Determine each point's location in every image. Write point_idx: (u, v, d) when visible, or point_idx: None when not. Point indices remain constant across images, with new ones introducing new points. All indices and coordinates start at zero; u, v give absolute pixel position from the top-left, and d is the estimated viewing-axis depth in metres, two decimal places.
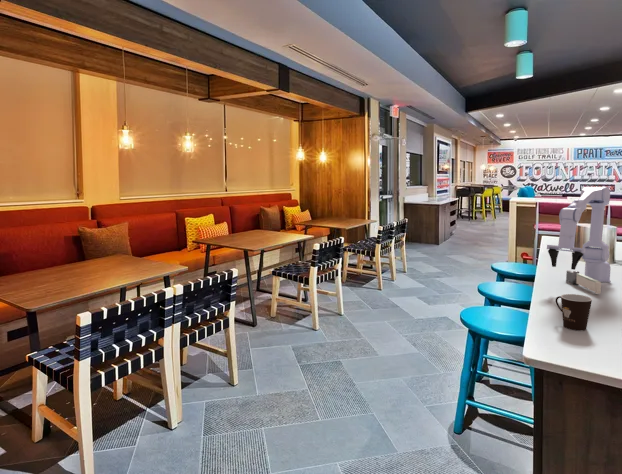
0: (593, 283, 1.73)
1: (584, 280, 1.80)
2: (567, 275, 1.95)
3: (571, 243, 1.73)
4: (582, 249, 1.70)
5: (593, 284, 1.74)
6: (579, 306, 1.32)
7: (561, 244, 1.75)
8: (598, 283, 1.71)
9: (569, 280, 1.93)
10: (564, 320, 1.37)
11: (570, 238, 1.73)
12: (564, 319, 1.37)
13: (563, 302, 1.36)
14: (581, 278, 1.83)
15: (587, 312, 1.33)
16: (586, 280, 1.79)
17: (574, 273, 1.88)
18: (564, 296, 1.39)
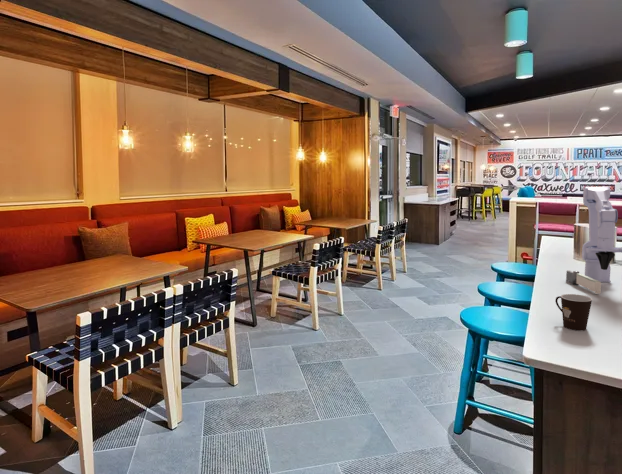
0: (593, 283, 1.73)
1: (584, 280, 1.80)
2: (567, 275, 1.95)
3: (613, 245, 1.74)
4: None
5: (593, 284, 1.74)
6: (579, 306, 1.32)
7: (607, 247, 1.73)
8: (598, 283, 1.71)
9: (569, 280, 1.93)
10: (564, 320, 1.37)
11: (613, 240, 1.73)
12: (564, 319, 1.37)
13: (563, 302, 1.36)
14: (581, 278, 1.83)
15: (587, 312, 1.33)
16: (586, 280, 1.79)
17: (574, 273, 1.88)
18: (564, 296, 1.39)
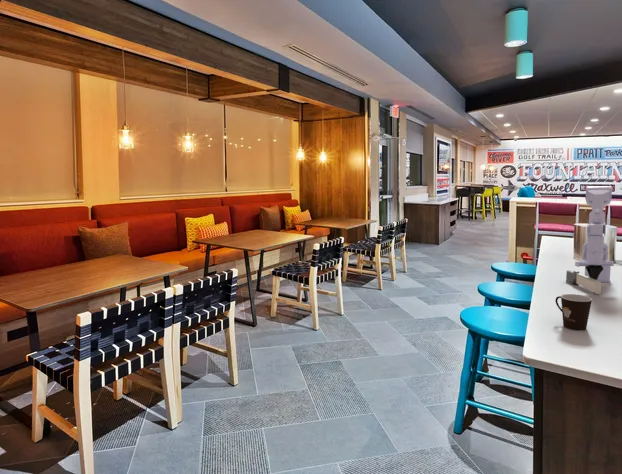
0: (593, 283, 1.73)
1: (584, 280, 1.80)
2: (567, 275, 1.95)
3: (602, 258, 1.75)
4: (612, 263, 1.75)
5: (593, 284, 1.74)
6: (579, 306, 1.32)
7: (596, 261, 1.74)
8: (598, 283, 1.71)
9: (569, 280, 1.93)
10: (564, 320, 1.37)
11: (602, 254, 1.74)
12: (564, 319, 1.37)
13: (563, 302, 1.36)
14: (581, 278, 1.83)
15: (587, 312, 1.33)
16: (586, 280, 1.79)
17: (574, 273, 1.88)
18: (564, 296, 1.39)
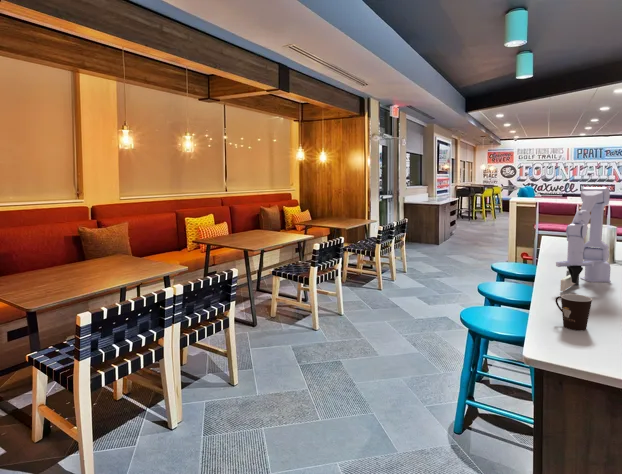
0: None
1: None
2: (567, 275, 1.95)
3: (583, 259, 1.76)
4: (592, 263, 1.76)
5: None
6: (579, 306, 1.32)
7: (576, 261, 1.75)
8: (562, 280, 1.76)
9: None
10: (564, 320, 1.37)
11: (582, 254, 1.75)
12: (564, 319, 1.37)
13: (563, 302, 1.36)
14: None
15: (587, 312, 1.33)
16: None
17: None
18: (564, 296, 1.39)
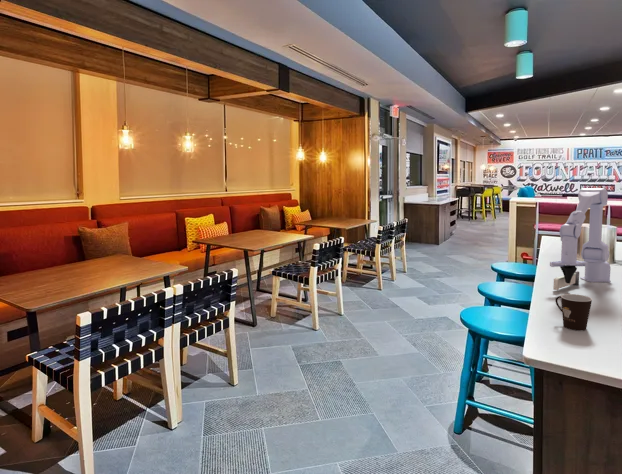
0: None
1: None
2: None
3: (576, 259, 1.76)
4: (586, 263, 1.76)
5: None
6: (579, 306, 1.32)
7: (570, 261, 1.75)
8: (555, 279, 1.79)
9: None
10: (564, 320, 1.37)
11: (576, 254, 1.75)
12: (564, 319, 1.37)
13: (563, 302, 1.36)
14: None
15: (587, 312, 1.33)
16: None
17: None
18: (564, 296, 1.39)
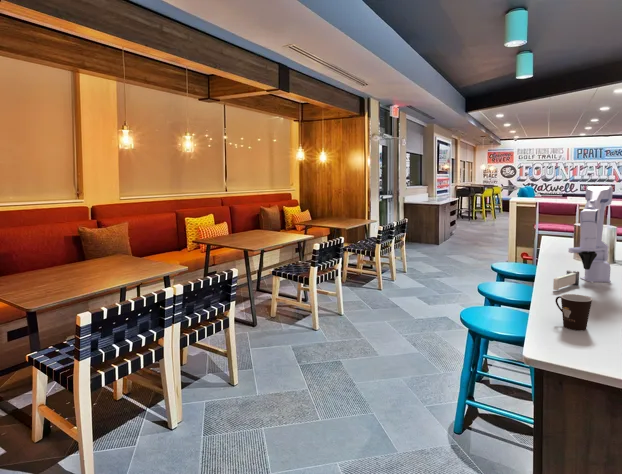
0: None
1: None
2: None
3: (596, 245, 1.75)
4: (606, 249, 1.75)
5: None
6: (579, 306, 1.32)
7: (589, 247, 1.74)
8: (555, 279, 1.79)
9: None
10: (564, 320, 1.37)
11: (596, 240, 1.74)
12: (564, 319, 1.37)
13: (563, 302, 1.36)
14: None
15: (587, 312, 1.33)
16: None
17: None
18: (564, 296, 1.39)
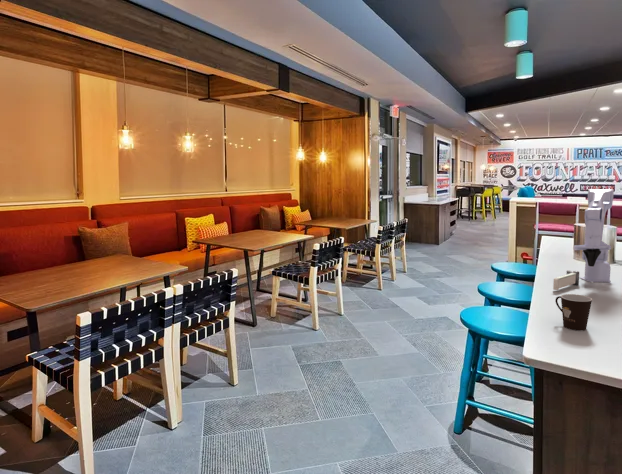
0: None
1: None
2: None
3: (600, 242, 1.80)
4: (609, 246, 1.80)
5: None
6: (579, 306, 1.32)
7: (594, 244, 1.79)
8: (555, 279, 1.79)
9: None
10: (564, 320, 1.37)
11: (600, 237, 1.79)
12: (564, 319, 1.37)
13: (563, 302, 1.36)
14: None
15: (587, 312, 1.33)
16: None
17: None
18: (564, 296, 1.39)
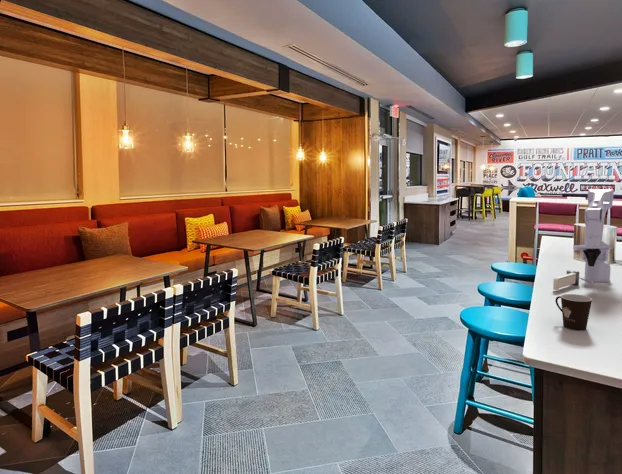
0: None
1: None
2: None
3: (600, 242, 1.80)
4: (609, 246, 1.80)
5: None
6: (579, 306, 1.32)
7: (594, 244, 1.79)
8: (555, 279, 1.79)
9: None
10: (564, 320, 1.37)
11: (600, 237, 1.79)
12: (564, 319, 1.37)
13: (563, 302, 1.36)
14: None
15: (587, 312, 1.33)
16: None
17: None
18: (564, 296, 1.39)
